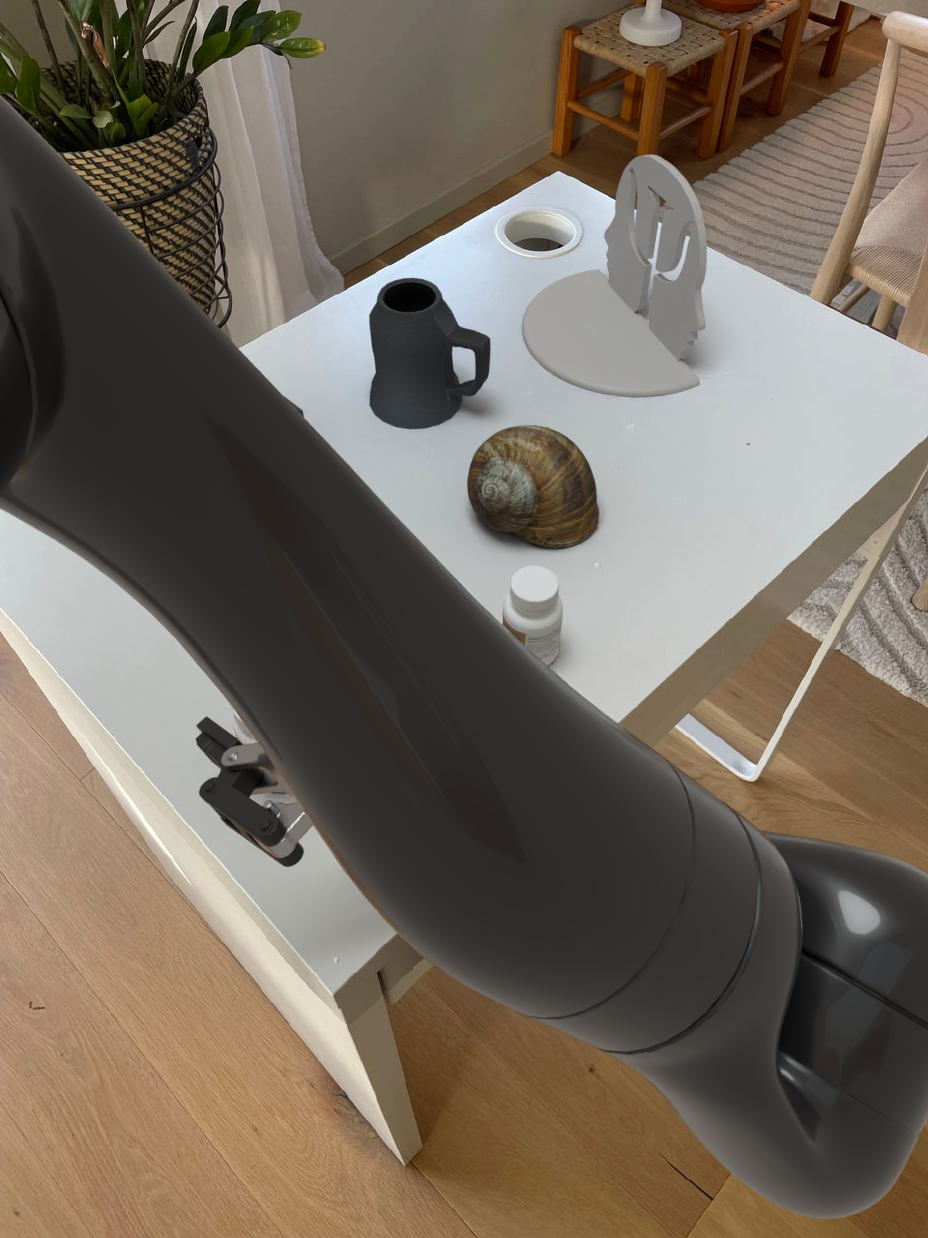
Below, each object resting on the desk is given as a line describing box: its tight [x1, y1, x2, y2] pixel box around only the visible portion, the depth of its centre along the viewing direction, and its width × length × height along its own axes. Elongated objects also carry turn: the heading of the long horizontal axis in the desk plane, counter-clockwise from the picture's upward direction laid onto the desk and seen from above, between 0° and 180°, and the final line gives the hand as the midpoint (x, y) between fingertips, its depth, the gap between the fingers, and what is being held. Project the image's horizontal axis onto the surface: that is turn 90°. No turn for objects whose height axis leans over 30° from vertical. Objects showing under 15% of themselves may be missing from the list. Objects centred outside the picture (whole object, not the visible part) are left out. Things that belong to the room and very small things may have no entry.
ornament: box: [521, 154, 708, 398], centre depth 92 cm, size 22×13×17 cm, turn 23°
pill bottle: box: [502, 565, 564, 666], centre depth 71 cm, size 4×4×8 cm
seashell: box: [466, 424, 600, 548], centre depth 79 cm, size 11×9×8 cm
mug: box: [368, 277, 492, 430], centre depth 88 cm, size 12×9×11 cm
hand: (268, 676), depth 52 cm, fingers open, 8 cm apart
